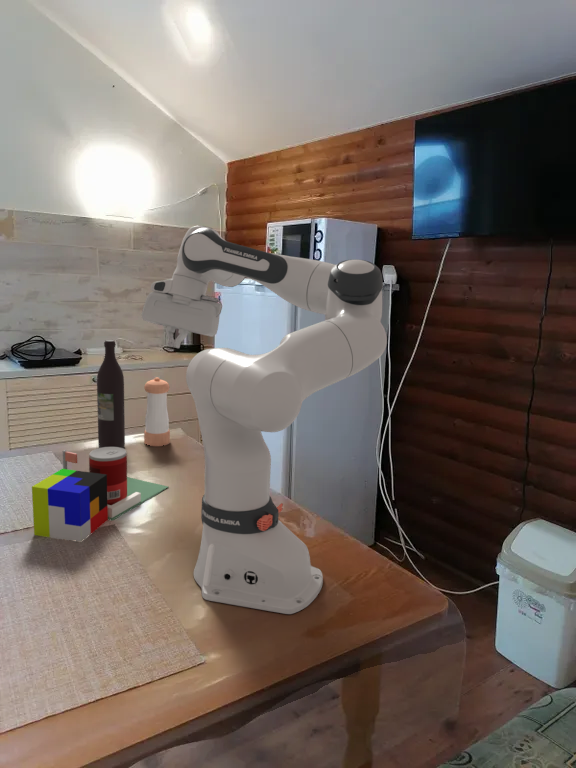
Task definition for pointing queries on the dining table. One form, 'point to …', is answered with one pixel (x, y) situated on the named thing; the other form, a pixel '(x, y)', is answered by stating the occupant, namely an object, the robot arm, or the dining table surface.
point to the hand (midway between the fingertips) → (172, 346)
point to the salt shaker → (157, 413)
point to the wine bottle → (110, 400)
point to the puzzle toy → (70, 504)
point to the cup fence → (112, 509)
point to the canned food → (111, 470)
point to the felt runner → (141, 491)
